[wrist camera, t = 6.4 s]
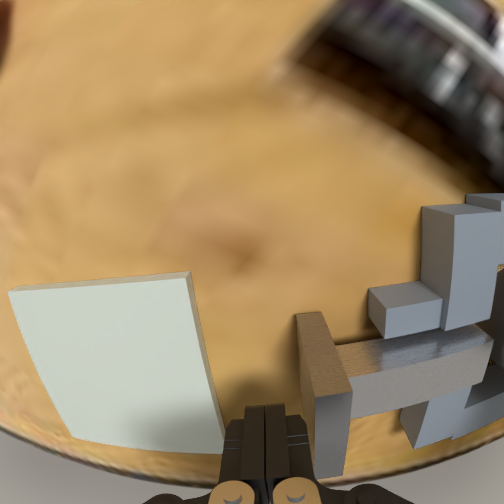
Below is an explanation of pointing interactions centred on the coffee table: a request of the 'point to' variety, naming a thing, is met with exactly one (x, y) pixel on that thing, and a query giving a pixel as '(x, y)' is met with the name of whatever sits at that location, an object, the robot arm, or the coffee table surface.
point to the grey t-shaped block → (377, 378)
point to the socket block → (449, 309)
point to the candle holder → (496, 322)
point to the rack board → (124, 360)
